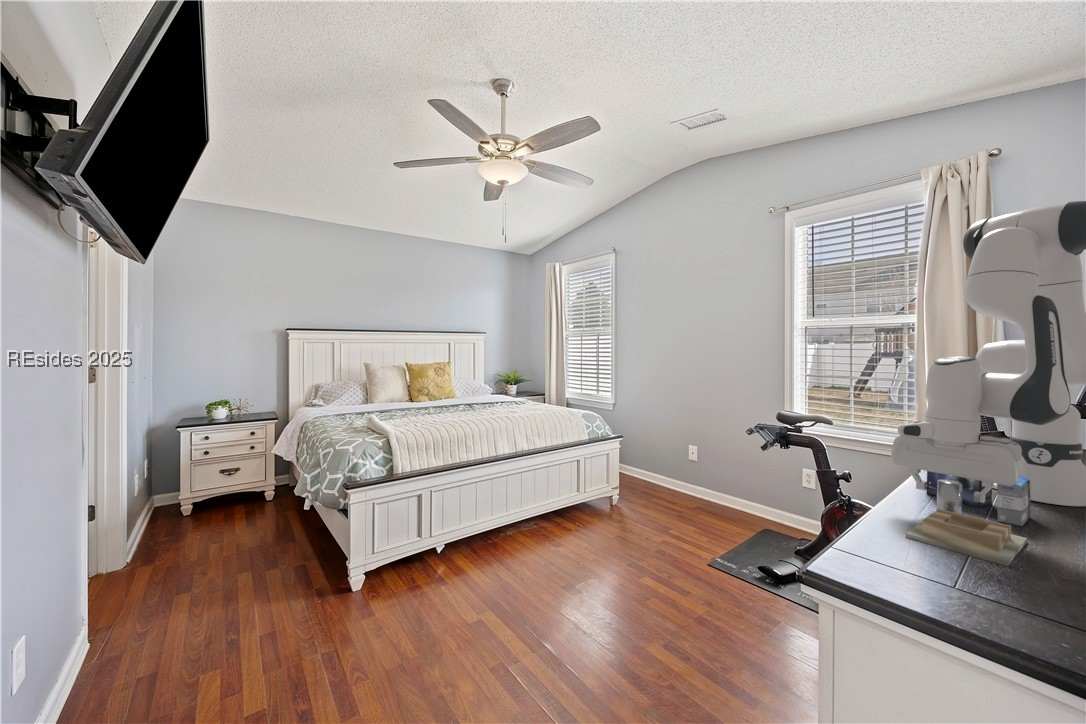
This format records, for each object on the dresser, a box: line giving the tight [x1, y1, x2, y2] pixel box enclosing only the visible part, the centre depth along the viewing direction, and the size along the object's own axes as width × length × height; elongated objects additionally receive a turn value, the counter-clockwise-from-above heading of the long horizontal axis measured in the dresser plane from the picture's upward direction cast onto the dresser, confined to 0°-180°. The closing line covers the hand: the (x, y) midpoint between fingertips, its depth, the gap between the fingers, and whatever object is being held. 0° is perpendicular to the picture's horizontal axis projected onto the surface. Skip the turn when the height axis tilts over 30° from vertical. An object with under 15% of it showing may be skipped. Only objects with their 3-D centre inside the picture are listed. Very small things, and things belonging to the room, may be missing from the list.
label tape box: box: [996, 475, 1031, 527], centre depth 95 cm, size 9×4×12 cm, turn 124°
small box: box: [925, 471, 993, 508], centre depth 108 cm, size 11×6×10 cm, turn 23°
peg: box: [936, 480, 963, 514], centre depth 96 cm, size 4×4×8 cm
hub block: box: [905, 509, 1028, 567], centre depth 85 cm, size 16×14×3 cm
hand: (949, 495), depth 95 cm, fingers open, 8 cm apart
